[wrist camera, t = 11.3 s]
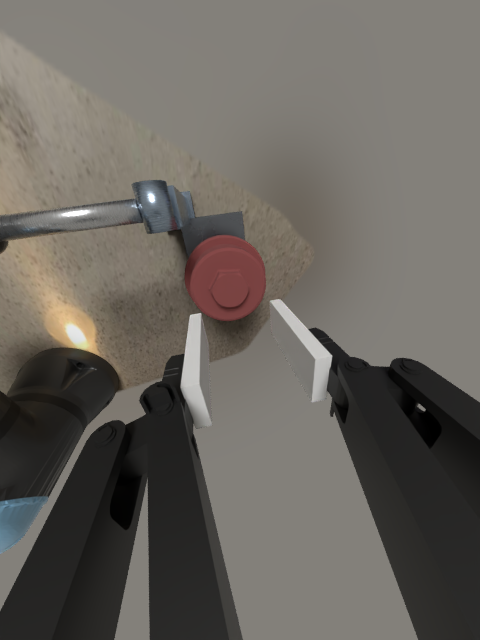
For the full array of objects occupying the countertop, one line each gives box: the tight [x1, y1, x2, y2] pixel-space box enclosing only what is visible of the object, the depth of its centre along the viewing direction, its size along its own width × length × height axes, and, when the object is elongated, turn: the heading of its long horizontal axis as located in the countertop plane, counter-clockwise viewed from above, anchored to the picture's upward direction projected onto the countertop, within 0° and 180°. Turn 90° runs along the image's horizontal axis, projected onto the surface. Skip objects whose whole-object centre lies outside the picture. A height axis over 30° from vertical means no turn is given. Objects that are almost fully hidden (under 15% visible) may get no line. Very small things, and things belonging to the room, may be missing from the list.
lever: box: [0, 180, 178, 254], centre depth 14 cm, size 16×4×4 cm, turn 97°
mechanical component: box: [185, 235, 266, 321], centre depth 26 cm, size 12×10×10 cm
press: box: [167, 185, 245, 259], centre depth 25 cm, size 11×15×14 cm
